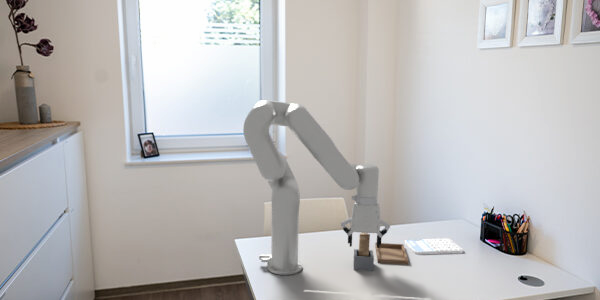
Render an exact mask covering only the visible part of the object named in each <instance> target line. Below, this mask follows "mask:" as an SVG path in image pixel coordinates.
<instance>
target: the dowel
mask: <svg viewBox="0 0 600 300" xmlns="http://www.w3.org/2000/svg"><path fill="white" fill-rule="evenodd" d="M370 234H371V233H361V232H359V236H358V237H359V241H358V250H359V256H366V257H369V250H370V241H371V240H370V236H371V235H370Z"/></svg>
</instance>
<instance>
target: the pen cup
mask: <svg viewBox="0 0 600 300" xmlns="http://www.w3.org/2000/svg"><path fill="white" fill-rule="evenodd" d="M374 261H375V256H374V250H372V249H369V257H366V256H359V248H358V249H356V248H355V249H353V271H366V272H374V265H375V264H374Z"/></svg>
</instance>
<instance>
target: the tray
mask: <svg viewBox="0 0 600 300" xmlns="http://www.w3.org/2000/svg"><path fill="white" fill-rule="evenodd" d="M374 243H375V244H374V247H375V253H376V259H377V263H379V264H389V265H390V264H391V265H394V264H395V265H407V266H408V265H409V258H408V255H407V251H406V248H405V245H404V244H403V243H388V242H387V243H386V242H385V243H384V242H381V245H379V248H377V242H374Z"/></svg>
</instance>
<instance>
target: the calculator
mask: <svg viewBox="0 0 600 300" xmlns="http://www.w3.org/2000/svg"><path fill="white" fill-rule="evenodd" d="M404 243H405V245H406V246H407V247H408V248H409V249H411V250H412V252H413V253H414V254H415V255H443V254H444V255H445V254H446V255H447V254H448V255H450V254H462V253H464V249H463V248H462V247H461V246H459V245H458V244H457V243H456V242H455V241H453V240H452V239H451V238H443V237H442V238H416V239H410V238H408V239H405V240H404Z"/></svg>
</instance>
